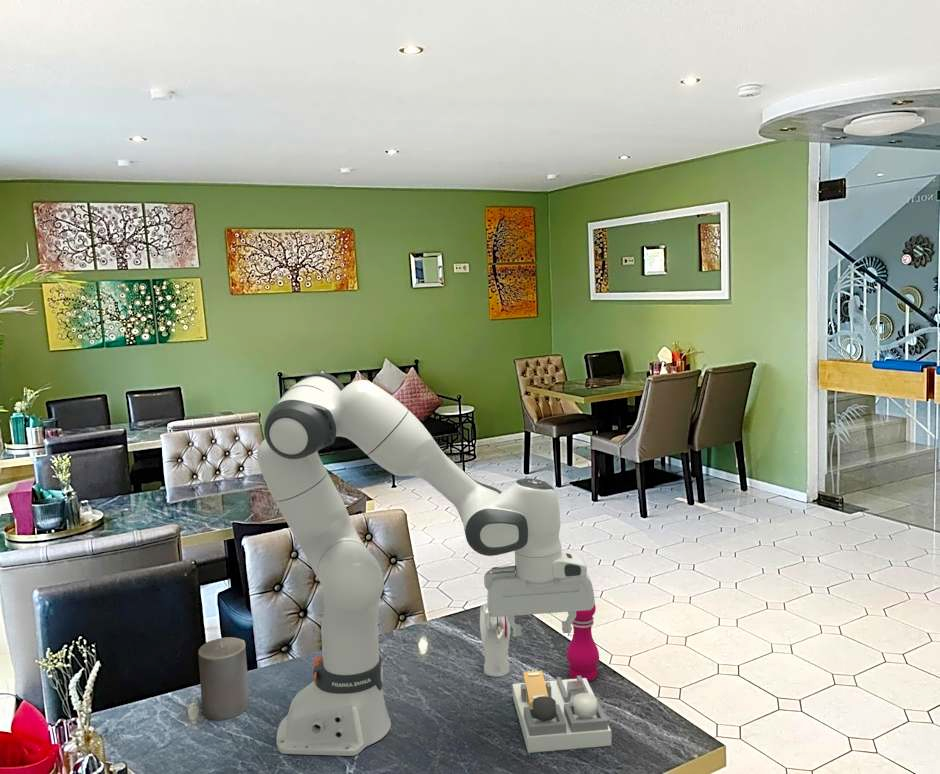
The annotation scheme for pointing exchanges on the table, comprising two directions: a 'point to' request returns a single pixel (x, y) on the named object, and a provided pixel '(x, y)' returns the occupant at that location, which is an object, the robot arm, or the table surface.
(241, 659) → the pillar candle
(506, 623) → the beer glass
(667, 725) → the table surface
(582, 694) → the white button
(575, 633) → the pepper mill
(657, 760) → the table surface
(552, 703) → the black button
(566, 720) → the console
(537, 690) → the amber rocker
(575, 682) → the metal slider knob
